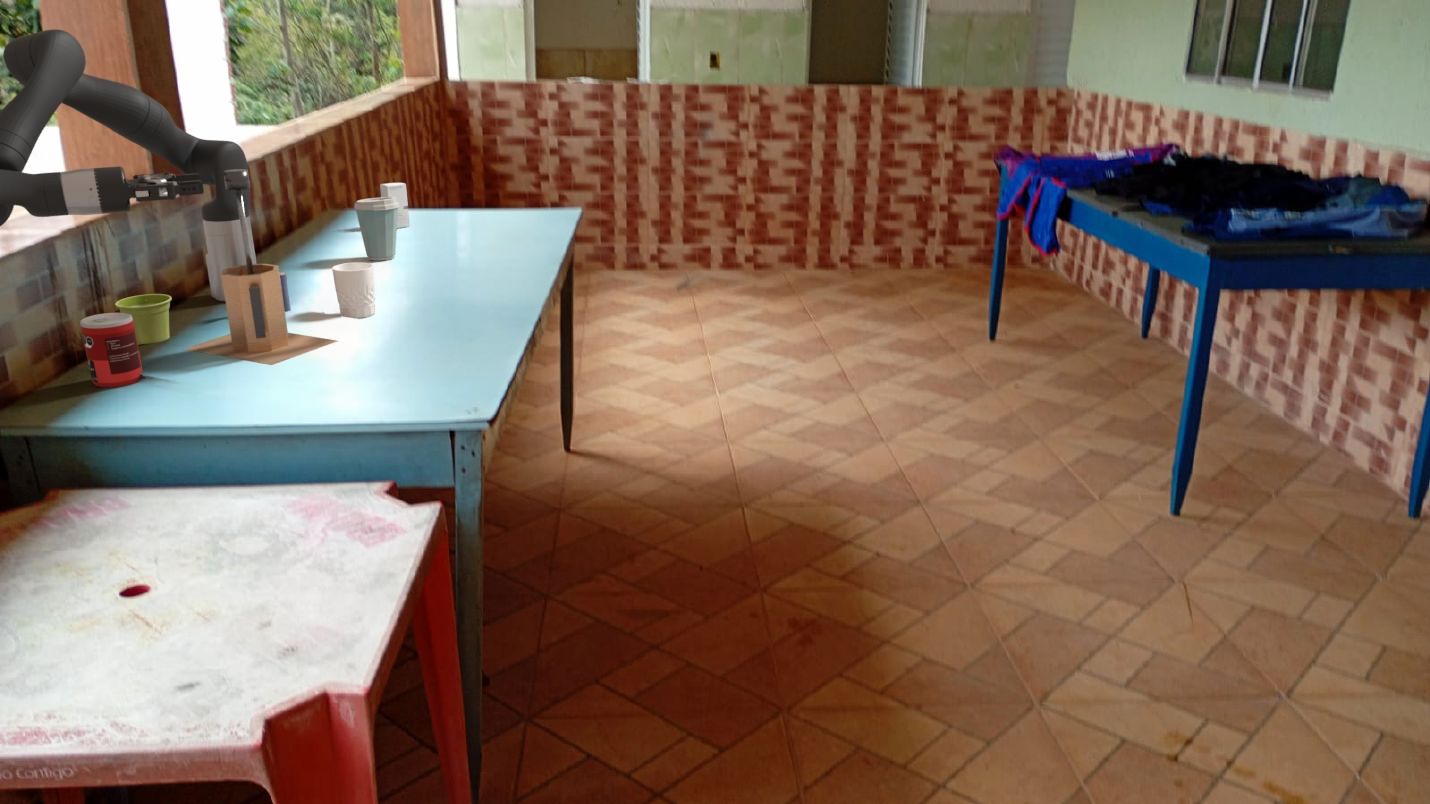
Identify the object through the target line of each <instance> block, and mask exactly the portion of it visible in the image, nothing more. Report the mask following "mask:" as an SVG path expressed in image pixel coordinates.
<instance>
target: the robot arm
mask: <svg viewBox="0 0 1430 804" xmlns="http://www.w3.org/2000/svg"><path fill="white" fill-rule="evenodd" d="M2 53H3V62H4V65H5V66H6V68H7V70H8V71H9V73H10V74H11V75H12V77H13V79H15V80H16V81H17V82H18V83H20V84H21V85H23V87H22V89H21V90H20V91H19V92H18V93H17V94H16V95H15V96H14V97H13V98H12V99H11V100H10V101H9V102H7V104H6V105H5V106H4V107H3V108H2V109H1V110H0V227H2V226H3V225H4V224H5V223H6V222H7V221H8V220H9V218H10V216H11V215H12V213H13V210H14V206H18V207H22V208H23V209H25V210H26V212H28V214H30V215H31V216H33V217H36V218H41V217H42V218H48V217H49V218H50V217H60V216H69V215H70V216H91V215H93V216H94V215H105V214H106V215H107V214H116V213H128V212H130V211H131V210H132V206H131V205H132V204H131V199H135V201H136V202H139V203H142V202H150V201H165V200H168V201H169V200H170V201H174V200H175V199H177V198H180V197H181V196H193V195H202V194H204V193H205V191H204V185H207V186H214V190H215V191H214V192H215V195H214V198H213V200H211V201H209V202H206V203H204V204H203V205H202V206H201V211H200V212H201V217H202V218H201V219H202V222H203V223H202V224H203V229H204V236H205V242H206V248H207V253H206V254H205V262H206V268H207V273H208V274H207V275H208V281H209V286H210V293H211V298H214V299H215V300H216V301H220V302H226V301H225V295H224V288H223V282H222V276H221V274H222V271H223V269H227V268H231V267H235V266H239V265H247V264H246V258H245V251H244V244H243V238H242V231H241V224H240V217H239V211H238V204H237V197H236V191H235V190H227V189H226V186H225V180H224V173H223V171H226V170H234V169H246V170H248V171H249V167H248V161H247V156H246V155H245V152H244V150H243V148H242V147H241V145H239V144H238V143H237V142H234V141H229V140H217V139H216V140H215V139H204V138H203V139H202V138H199V137H196V136H194V135H192V134H190V133H188V132H186V131H184V130H183V129H181V128H180V127H178V126H177V124H176V123H175V121H174V119H173V118H172V116H171V114H170V112H169V111H168V109H166V107H165V106H163V104H161V103H160V102H158V101H157V100H156V99H154V98H152V97H151V96H150V95H147V94H146V93H144V92H143V91H141V90H140V89H137V88H135V87H133V86H131V85H128V84H125V83H123V82H119V81H113V80H109V79H105V78H103V77H98V76H94V75H90V74H87V73H84V71H85V69H86V64H87V63H86V55H85V51H84V49H83V46H82V45H81V43H80V41H79V40H78V39H77V38H76V37H75V36H74V35H72V34H71V33H69V32H68V31H66V30H62V29H47V30H46V29H45V30H41V31H37V32H34V33H29V34H25V35H21V36H18V37H17V38H15V39H12V40H11V41H8V43H7V44H6V45H5V47H4V49H3V52H2ZM61 104H63V105H65V106H67V107H70V108H72V109H73V110H76V111H77V112H79V113H81V114H82V115H84V116H86V117H88V118H89V119H91V120H93V121H94V122H97V123H99V124H101V125H103V126H104V127H106V128H108V129H109V130H111V131H113V133H116V134H117V135H119V136H121V137H122V138H125V140H128V141H129V142H131V143H134V144H135V145H137V146H140V147H141V148H143V149H145V150H147V151H148V152H150V153H152V154H154V155H156V156H158V157H160V158H162V159H163V160H165V161H167V162H168V163H169V164H171V165H173V166H174V167H175V168H176V169H178V170H179V171H180V172H182V173H183V174H174V173H170V172H165V173H164V172H163V173H152V174H151V173H149V174H144V173H141V174H135V175H133V176H132V178H131V179H127V178H126V173H125V169H124V168H123V167H122V166H120V165H119V166H104V167H93V168H91V167H90V168H89V167H88V168H76V169H72V170H65V171H61V172H60V171H55V172H54V171H53V172H41V173H28V172H23V171H24V169H25V168H26V165H27V163H28V162H29V158H30V157H31V154H32V152H33V150H34V148H35V145H36V143H37V141H39V138H40V136H41V134H42V132H43V130H45V127H46V126H47V124H48V123H49V122H50V119H51V118H52V117H53V115H54V114H55V112H56V111H57V109H58V108H59V106H60V105H61ZM242 196H243V203H244V210H245V216H246V223H247V230H248V237H249V244H250V250H251V257H252V264H257V258H256V257H257V256H256V252H255V244H254V238H253V237H254V236H253V232H252V231H253V230H252V224H251V218H250V205H251V187H250V188H249V189H243V190H242Z"/></svg>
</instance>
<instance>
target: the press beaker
mask: <svg viewBox="0 0 1430 804" xmlns="http://www.w3.org/2000/svg"><path fill="white" fill-rule="evenodd" d="M253 271H254V274H252V275H248V271H247V265H239V266H235V267H231V268H227V269H223V271H222V274H221V276H222V282H223V288H224V295H225V301H224V302H225V306H226V312H227V313H226V314H227V319H228V325H229V331H230V333H229V334H231V339H232V346H233V350H234V351H240V352H246V353H255V352H265V351H273V350H276V349H279V348H282V347H285V346H287V345H288V344H289V337H288V333H289V331H288V325H287V318H286V312H285V309H284V302H283V294H282V287H281V280H280V273H279V272H280V267H279V265H277V264H268V263H256V264H253Z"/></svg>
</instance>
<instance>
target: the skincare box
mask: <svg viewBox="0 0 1430 804" xmlns="http://www.w3.org/2000/svg"><path fill="white" fill-rule="evenodd" d="M379 189H380V197H396V201H397V202H398V203H399V206H400V207H398V218H397V229H400V228H401V229H402V228H408V227H410V226H411V223H410V215H409V213H410V212H409V204H408V191H407V184H406V183H404V182H399V181H398V182H388V183H380V184H379Z"/></svg>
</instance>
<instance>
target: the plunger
mask: <svg viewBox="0 0 1430 804" xmlns="http://www.w3.org/2000/svg"><path fill="white" fill-rule="evenodd" d="M223 173H224V180H225V186H226V189H227V190H235V191H236V197H237V204H238V211H239V217H240V224H241V231H242V238H243V244H244V251H245V258H246V264H247V271H248V275H252V274H254V271H253V264H252V257H251V250H250V244H249V237H248V230H247V223H246V216H245V210H244V203H243V196H242V190H243V189H249V188H250V189H251V182H250V177H249V176H250V175H249V169H248V170H246V169H234V170H226V171H223Z"/></svg>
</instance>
